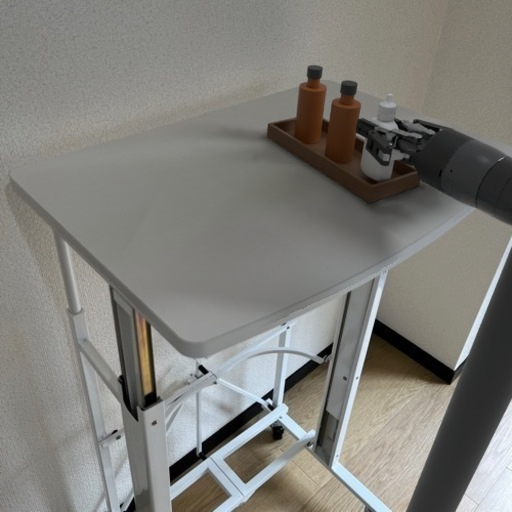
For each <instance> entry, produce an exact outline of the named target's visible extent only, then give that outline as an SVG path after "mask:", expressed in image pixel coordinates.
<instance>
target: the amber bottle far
mask: <svg viewBox="0 0 512 512" xmlns="http://www.w3.org/2000/svg"><path fill="white" fill-rule="evenodd" d="M323 70H324V68H323V67H322V66H321V65H318V64H311V65H308V66H307V69H306V78H307V79H306V80H307V81H304V82H301V83H300V84H299V86H298V96H297V104H296V105H297V106H296V115H295V117H296V124H295V134H294V138H296V139H298V140H299V141H301V142H303V143H304V144H315V143H318V142H319V141H320V137H321V129H322V121H323V118H324V114H325V113H324V112H325V104H326V97H327V89H328V88H327V86H326V84H323V83H321V79H322V77H323Z"/></svg>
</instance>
